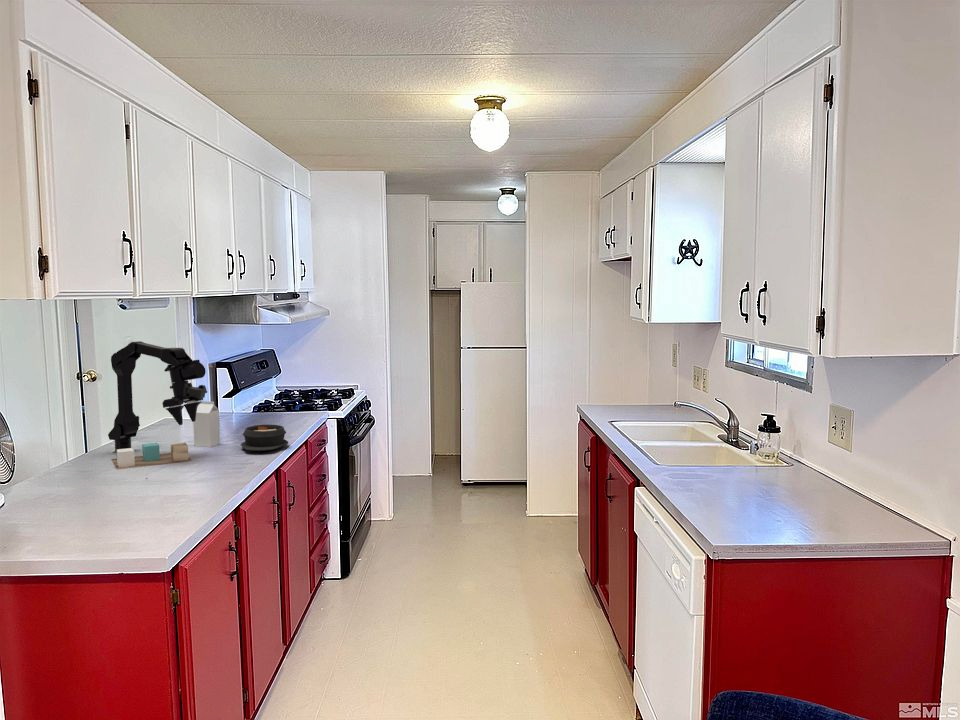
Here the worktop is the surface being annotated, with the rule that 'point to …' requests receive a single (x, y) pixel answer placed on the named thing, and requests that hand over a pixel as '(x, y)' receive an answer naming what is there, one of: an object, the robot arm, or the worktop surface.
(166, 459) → the walnut board
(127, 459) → the off-white block
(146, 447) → the teal block
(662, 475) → the worktop surface
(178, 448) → the birch block
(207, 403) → the milk carton
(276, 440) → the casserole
